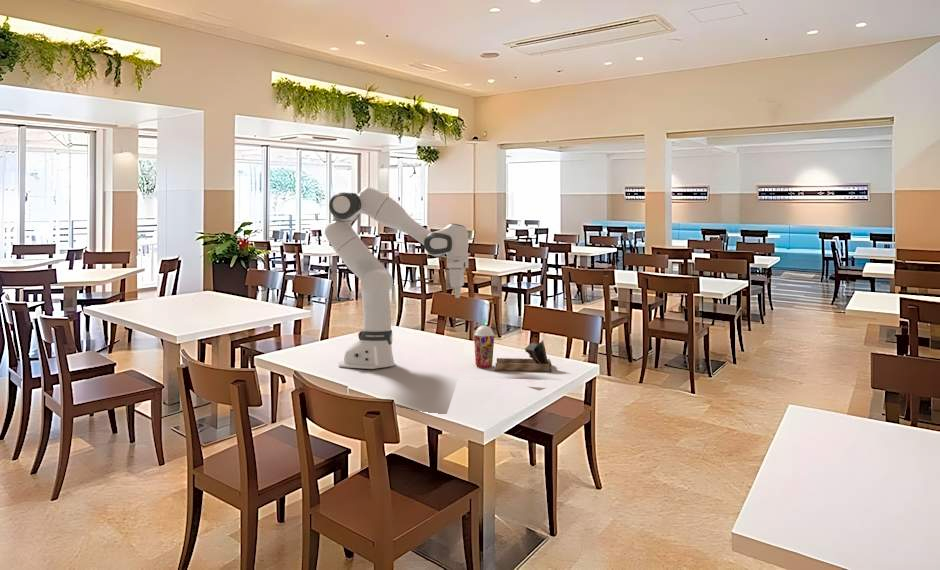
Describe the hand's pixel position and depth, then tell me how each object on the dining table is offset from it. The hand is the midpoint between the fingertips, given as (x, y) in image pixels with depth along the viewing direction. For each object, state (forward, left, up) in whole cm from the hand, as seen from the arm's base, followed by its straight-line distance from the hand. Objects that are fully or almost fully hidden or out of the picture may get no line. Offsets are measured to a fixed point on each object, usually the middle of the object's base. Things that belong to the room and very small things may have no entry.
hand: (457, 297), depth 252 cm
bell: (+31, 0, -29) cm, 43 cm away
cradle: (+27, 0, -28) cm, 39 cm away
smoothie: (+11, 0, -29) cm, 31 cm away
